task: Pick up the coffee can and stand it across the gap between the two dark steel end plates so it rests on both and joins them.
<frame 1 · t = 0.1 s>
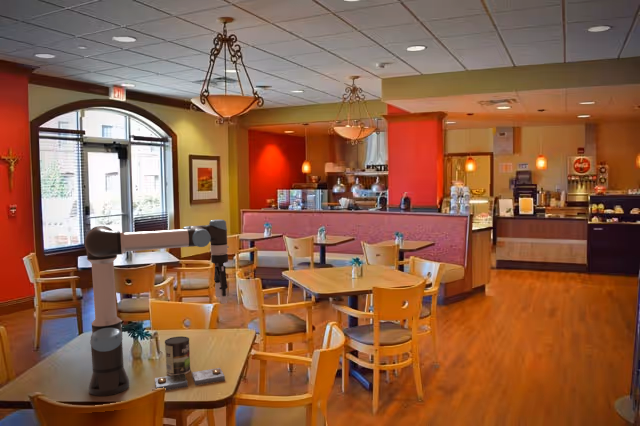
hand: (221, 299, 242), 28 cm above the table, tool pointing down, fingers open, 13 cm apart
left end plate: (171, 384, 216), on the table
right end plate: (208, 378, 221), on the table
coffee can: (178, 371, 230), on the table
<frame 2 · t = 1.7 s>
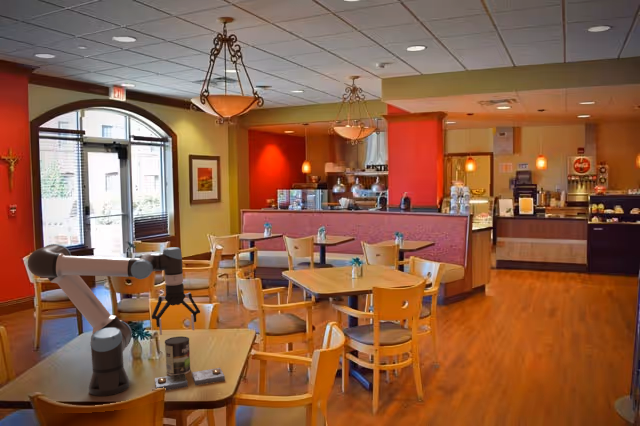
hand: (177, 331, 229), 18 cm above the table, tool pointing down, fingers open, 13 cm apart
nothing on the table moved.
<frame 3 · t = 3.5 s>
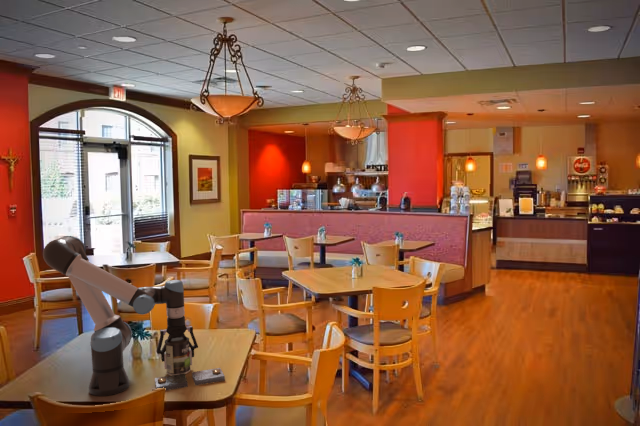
hand: (178, 366, 230), 2 cm above the table, tool pointing down, fingers closed on coffee can, 10 cm apart
coffee can: (178, 371, 230), on the table, touching gripper
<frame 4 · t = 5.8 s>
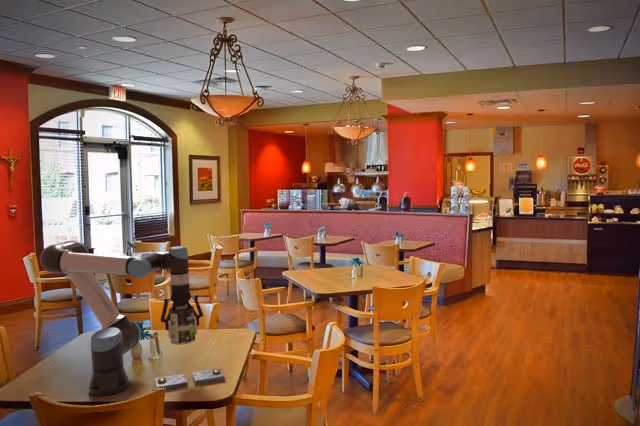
hand: (182, 335, 223), 18 cm above the table, tool pointing down, fingers closed on coffee can, 10 cm apart
coffee can: (183, 341, 223), point 15 cm above the table, touching gripper
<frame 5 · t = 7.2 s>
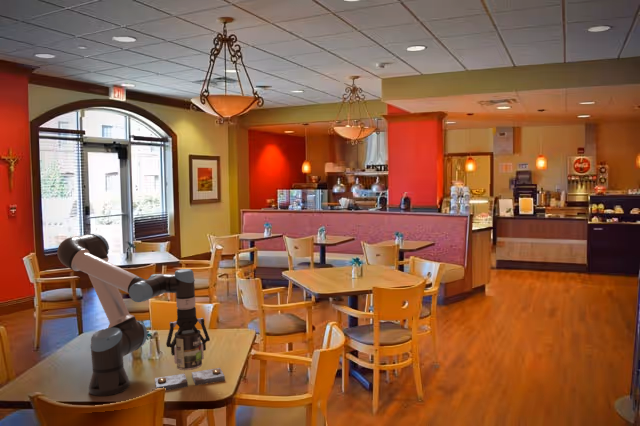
hand: (189, 360, 218), 9 cm above the table, tool pointing down, fingers closed on coffee can, 10 cm apart
coffee can: (189, 366, 218), point 7 cm above the table, touching gripper
when the fingers open (5 cm above the table, at t = 8.4 s): coffee can drops 1 cm, resting on left end plate.
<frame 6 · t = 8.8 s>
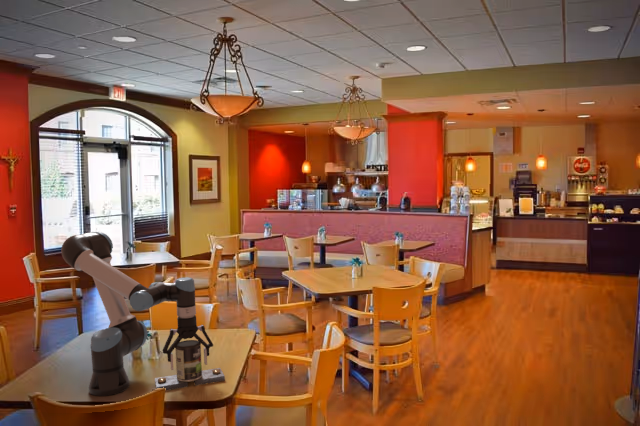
hand: (189, 366, 218), 6 cm above the table, tool pointing down, fingers open, 13 cm apart
coffee can: (189, 377, 218), point 2 cm above the table, touching left end plate
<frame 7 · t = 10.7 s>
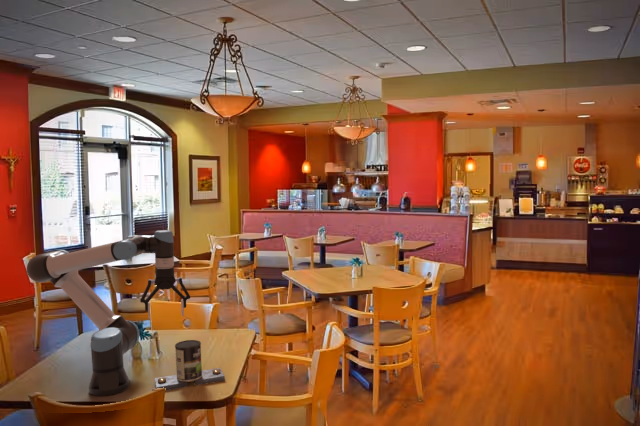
hand: (166, 316, 224), 26 cm above the table, tool pointing down, fingers open, 13 cm apart
coffee can: (189, 377, 218), point 2 cm above the table, touching left end plate, right end plate
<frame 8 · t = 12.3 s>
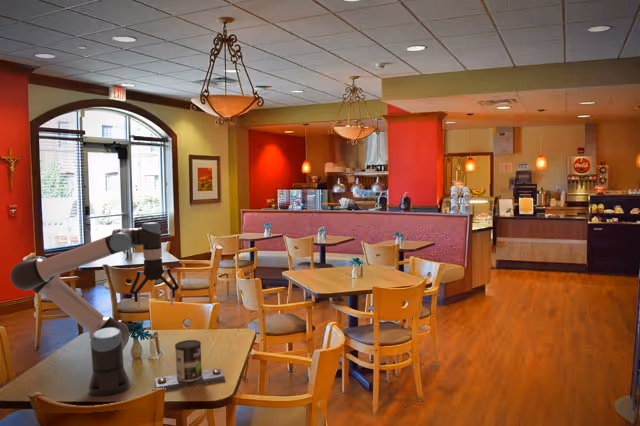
hand: (155, 307, 228), 29 cm above the table, tool pointing down, fingers open, 13 cm apart
nothing on the table moved.
at the end: coffee can 0.1 cm from the target spot, point 1.8 cm above the table; coffee can tilted 0°; the gripper is holding nothing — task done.
